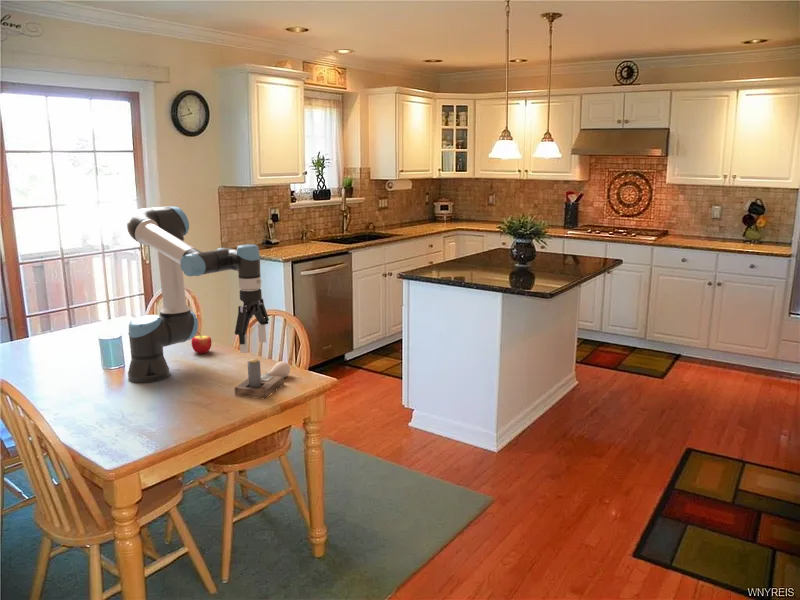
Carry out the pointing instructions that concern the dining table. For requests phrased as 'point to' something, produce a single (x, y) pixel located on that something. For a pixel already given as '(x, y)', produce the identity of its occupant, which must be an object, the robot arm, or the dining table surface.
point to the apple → (201, 344)
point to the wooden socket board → (265, 390)
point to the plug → (254, 373)
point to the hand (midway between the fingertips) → (253, 347)
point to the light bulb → (280, 370)
